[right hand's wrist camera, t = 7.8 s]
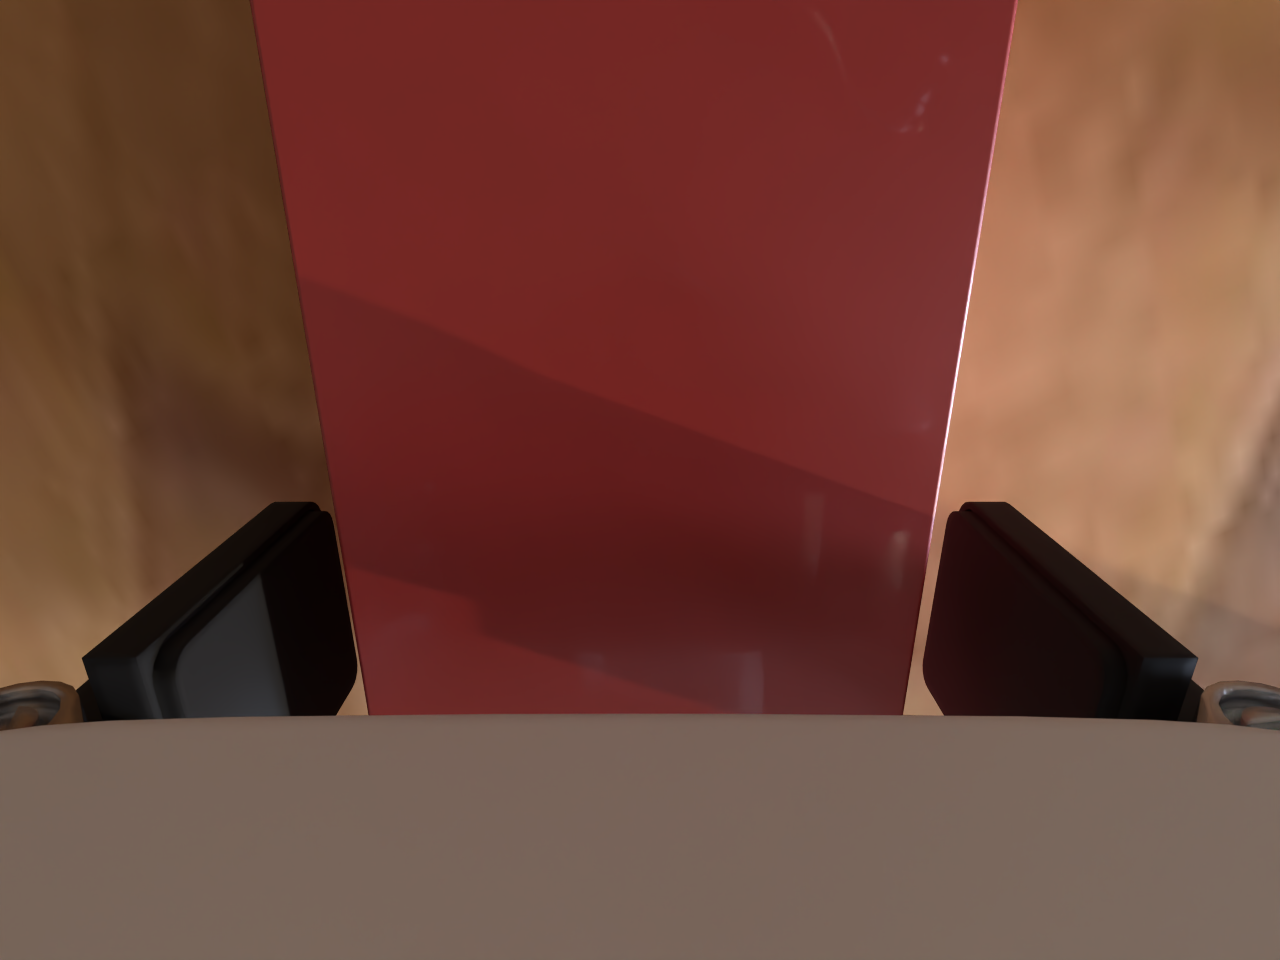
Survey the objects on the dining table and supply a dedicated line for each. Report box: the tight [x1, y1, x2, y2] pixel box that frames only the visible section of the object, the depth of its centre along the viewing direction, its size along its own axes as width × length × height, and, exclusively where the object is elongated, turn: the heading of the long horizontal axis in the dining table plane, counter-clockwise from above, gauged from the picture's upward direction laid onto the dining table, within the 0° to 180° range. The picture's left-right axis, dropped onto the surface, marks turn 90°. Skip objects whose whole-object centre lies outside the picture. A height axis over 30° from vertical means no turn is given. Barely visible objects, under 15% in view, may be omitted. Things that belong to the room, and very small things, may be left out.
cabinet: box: [250, 0, 1018, 715], centre depth 10 cm, size 20×7×8 cm, turn 0°
